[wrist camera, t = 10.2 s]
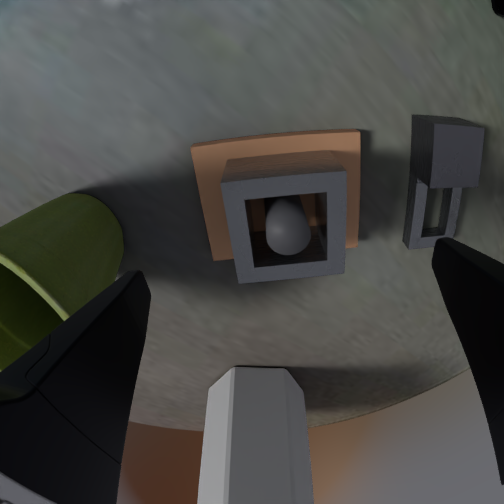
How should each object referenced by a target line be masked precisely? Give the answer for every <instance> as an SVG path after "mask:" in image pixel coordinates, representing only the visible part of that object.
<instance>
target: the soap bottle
mask: <svg viewBox="0 0 504 504" xmlns="http://www.w3.org/2000/svg"><path fill="white" fill-rule="evenodd" d="M307 430H308V429H307V419H306V410H305V400H304V391H303V390H302V389H301V388H300V386H299V385H298V384H297V382H296V381H295V380H294V378H293V377H292V376H291V375H290V373H289V372H288V371H287V370H286V369H284V368H256V367H233V368H231V369H230V370H229V371H228V372H227V373H226V374H225V375H223V376H222V377H221V378H220V379H219V380H218V381H217V382H216V383H215V384H214V385H212V386H211V387H210V388H209V393H208V402H207V411H206V420H205V430H204V440H203V449H202V459H201V470H200V480H199V491H198V503H197V504H314V500H313V499H314V498H313V485H312V474H311V462H310V450H309V440H308V431H307Z"/></svg>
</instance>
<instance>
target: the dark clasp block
mask: <svg viewBox="0 0 504 504" xmlns="http://www.w3.org/2000/svg"><path fill="white" fill-rule="evenodd" d="M483 141H484V128H483V127H480V126H478V125H476V124H473V123H471V122H468V121H466V120H463V119H460V118H453V117H442V116H429V115H412V137H411V161H410V176H409V189H408V199H407V209H406V218H405V226H404V234H403V242H404V244H405V245H406V247H407V248H408V249H417V248H426V247H435V242H436V240H437V239H438V238H443V237H450V238H452V239H453V237H454V232H455V228H456V223H457V217H458V212H459V206H460V200H461V194H462V188H465V187H478V183H479V176H480V169H481V161H482V152H483ZM428 187H429V188H444V191H443V199H442V205H441V212H440V218H439V224H438V228H427V229H422V227H423V220H424V213H425V206H426V198H427V189H428Z"/></svg>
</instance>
